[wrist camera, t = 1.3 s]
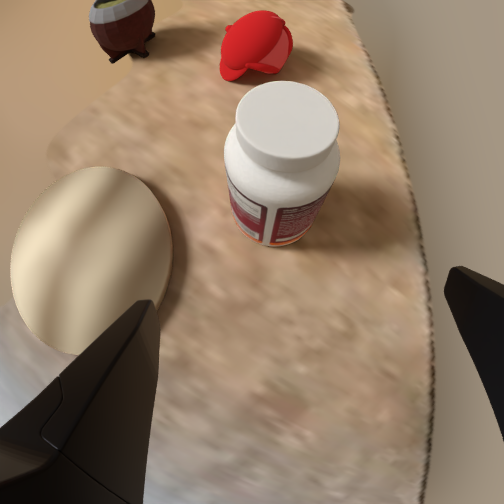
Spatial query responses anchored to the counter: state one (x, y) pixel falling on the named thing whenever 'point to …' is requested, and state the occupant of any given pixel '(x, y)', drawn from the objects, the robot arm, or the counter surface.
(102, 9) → the mate gourd
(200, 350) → the counter surface
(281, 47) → the cap
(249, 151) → the pill bottle
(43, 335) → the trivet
